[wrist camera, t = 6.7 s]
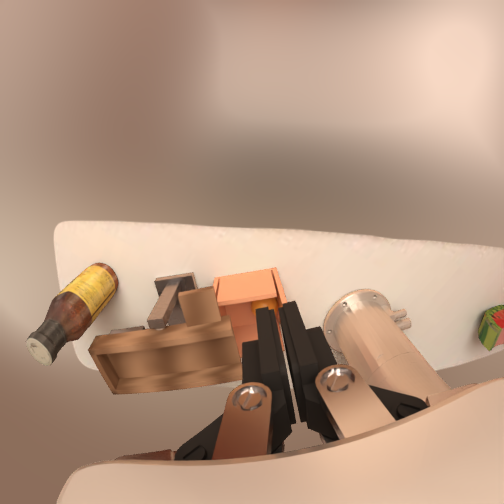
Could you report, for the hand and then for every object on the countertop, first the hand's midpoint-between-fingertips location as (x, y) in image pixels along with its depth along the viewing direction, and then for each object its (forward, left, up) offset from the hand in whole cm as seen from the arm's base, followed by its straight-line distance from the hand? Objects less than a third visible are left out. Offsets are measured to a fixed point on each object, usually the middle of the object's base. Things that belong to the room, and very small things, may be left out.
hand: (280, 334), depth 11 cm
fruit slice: (-58, +33, -29) cm, 73 cm away
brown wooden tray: (+14, +11, -20) cm, 27 cm away
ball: (+1, +13, -26) cm, 29 cm away
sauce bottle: (+26, +6, -29) cm, 39 cm away
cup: (+3, +13, -29) cm, 32 cm away
